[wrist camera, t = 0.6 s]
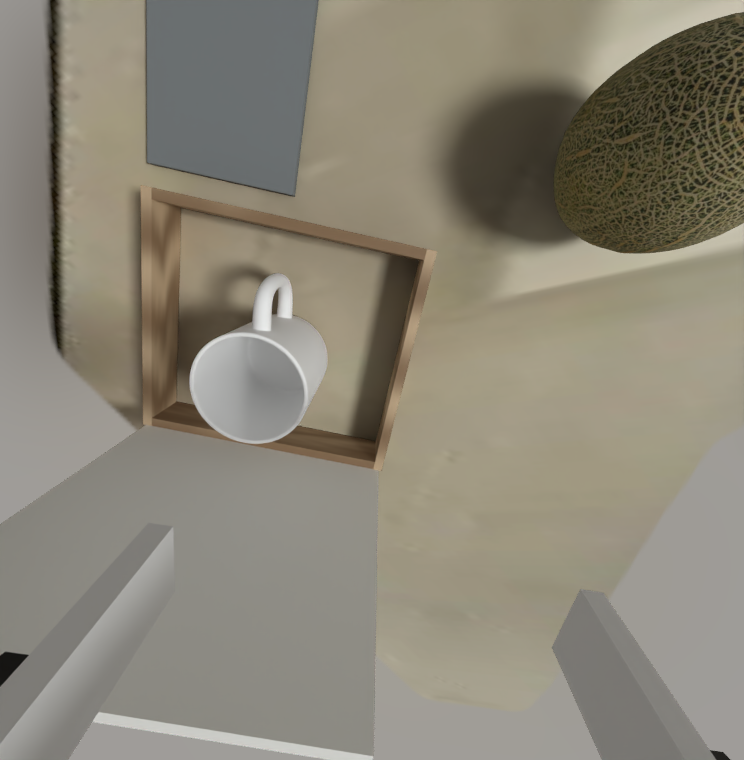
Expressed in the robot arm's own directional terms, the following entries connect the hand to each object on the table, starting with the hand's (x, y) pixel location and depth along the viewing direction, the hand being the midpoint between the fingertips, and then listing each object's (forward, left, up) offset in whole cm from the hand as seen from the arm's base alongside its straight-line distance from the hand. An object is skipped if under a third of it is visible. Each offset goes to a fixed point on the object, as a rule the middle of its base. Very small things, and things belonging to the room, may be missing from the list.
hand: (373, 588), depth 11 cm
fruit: (-20, +14, -24) cm, 34 cm away
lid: (+10, -9, -24) cm, 27 cm away
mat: (-22, -16, -24) cm, 36 cm away
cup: (-2, -9, -24) cm, 26 cm away
